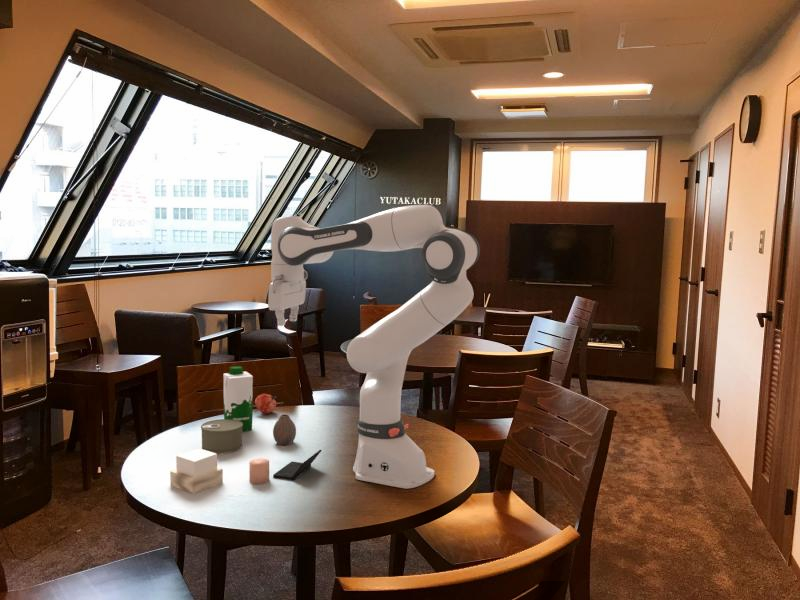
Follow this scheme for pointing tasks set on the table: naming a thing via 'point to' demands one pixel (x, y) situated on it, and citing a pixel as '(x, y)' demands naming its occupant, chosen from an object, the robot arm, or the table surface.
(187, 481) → the tower base
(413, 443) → the robot arm
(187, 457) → the tower middle
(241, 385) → the milk carton
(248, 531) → the table surface
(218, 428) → the can
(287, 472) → the handheld gaming console
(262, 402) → the pomegranate
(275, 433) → the vase
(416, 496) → the table surface
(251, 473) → the peach rounded dome
